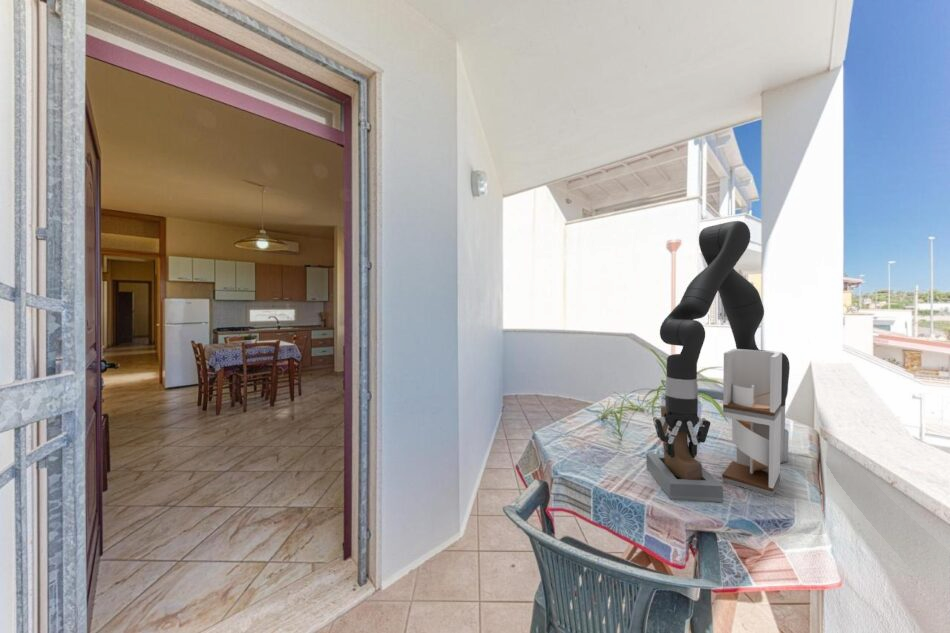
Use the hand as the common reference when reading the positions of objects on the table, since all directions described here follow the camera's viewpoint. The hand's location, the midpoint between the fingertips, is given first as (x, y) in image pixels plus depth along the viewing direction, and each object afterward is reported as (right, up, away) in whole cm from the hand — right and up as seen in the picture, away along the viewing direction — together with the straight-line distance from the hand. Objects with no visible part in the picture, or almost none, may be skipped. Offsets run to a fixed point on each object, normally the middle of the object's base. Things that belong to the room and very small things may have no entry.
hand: (680, 456), depth 96 cm
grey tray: (0, -7, 0) cm, 7 cm away
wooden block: (0, -5, -1) cm, 5 cm away
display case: (+19, -7, +1) cm, 21 cm away
